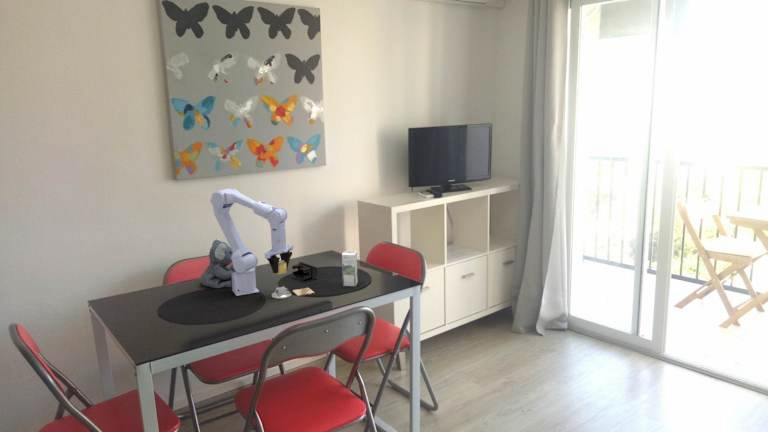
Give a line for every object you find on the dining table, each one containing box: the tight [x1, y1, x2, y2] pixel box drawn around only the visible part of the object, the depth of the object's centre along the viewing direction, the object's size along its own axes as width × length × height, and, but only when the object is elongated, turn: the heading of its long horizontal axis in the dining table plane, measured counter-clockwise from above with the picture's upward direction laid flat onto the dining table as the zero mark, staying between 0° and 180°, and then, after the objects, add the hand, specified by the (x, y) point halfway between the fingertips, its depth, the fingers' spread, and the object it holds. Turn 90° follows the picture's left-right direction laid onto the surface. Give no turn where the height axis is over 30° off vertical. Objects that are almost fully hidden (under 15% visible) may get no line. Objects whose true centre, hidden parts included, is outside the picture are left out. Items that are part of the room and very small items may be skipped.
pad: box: [292, 287, 315, 297], centre depth 226 cm, size 7×7×1 cm
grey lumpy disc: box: [271, 286, 293, 300], centre depth 222 cm, size 8×8×3 cm
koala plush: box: [200, 238, 236, 289], centre depth 237 cm, size 17×18×20 cm
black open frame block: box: [291, 261, 319, 283], centre depth 243 cm, size 10×7×7 cm
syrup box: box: [341, 250, 358, 288], centre depth 233 cm, size 6×6×14 cm
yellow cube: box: [274, 260, 288, 275], centre depth 220 cm, size 5×5×5 cm
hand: (280, 271), depth 221 cm, fingers closed on yellow cube, 5 cm apart
